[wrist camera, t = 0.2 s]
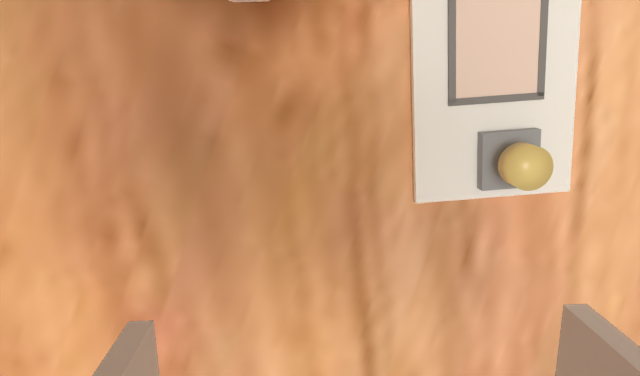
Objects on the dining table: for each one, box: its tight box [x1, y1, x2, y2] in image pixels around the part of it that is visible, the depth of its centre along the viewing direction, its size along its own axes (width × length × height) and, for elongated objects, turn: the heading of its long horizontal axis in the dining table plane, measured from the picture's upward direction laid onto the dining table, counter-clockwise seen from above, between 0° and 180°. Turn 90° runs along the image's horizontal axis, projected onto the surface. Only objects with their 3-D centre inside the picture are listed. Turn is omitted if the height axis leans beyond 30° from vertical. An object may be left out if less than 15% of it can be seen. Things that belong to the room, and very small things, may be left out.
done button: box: [498, 142, 554, 191], centre depth 38 cm, size 4×4×2 cm
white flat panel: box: [410, 0, 582, 203], centre depth 39 cm, size 28×14×2 cm, turn 4°
